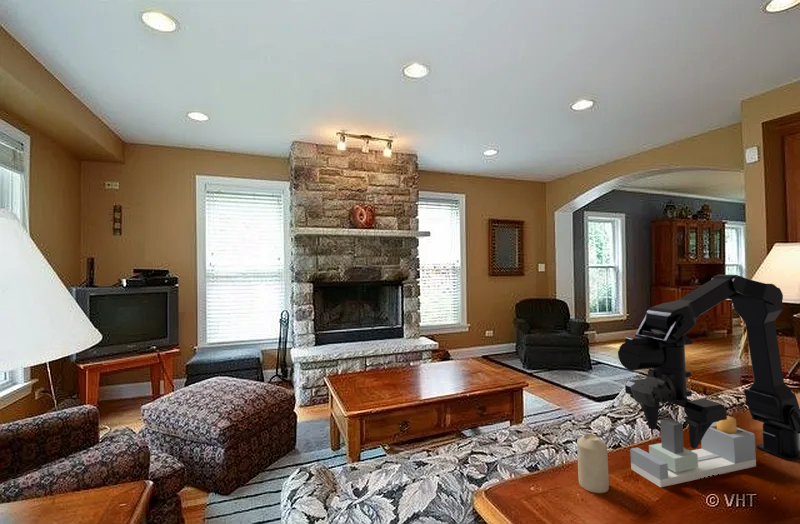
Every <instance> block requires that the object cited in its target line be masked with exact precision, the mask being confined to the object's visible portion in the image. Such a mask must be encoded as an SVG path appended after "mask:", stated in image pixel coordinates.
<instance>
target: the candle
mask: <svg viewBox="0 0 800 524" xmlns="http://www.w3.org/2000/svg"><path fill="white" fill-rule="evenodd" d="M576 447H577V448H576V449H577V450H576V451H577V453H576V454H577V469H578V470H577V473H578V483H579V486H581V488H582V489H584V490H585V491H588V492H591V493H596V494H604V493H606V492H608V491H609V488H610V486H609V485H610V484H609V483H610V481H609V463H608V462H609V461H608V459H609V458H608V456H609V455H608V445H607V444H606V443H605V442H604V441H603V439H601V438H599V436H597V435H595V434H593V433H585V434H584V435H582V436H581V437H580V438H578V439H577V441H576Z"/></svg>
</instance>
